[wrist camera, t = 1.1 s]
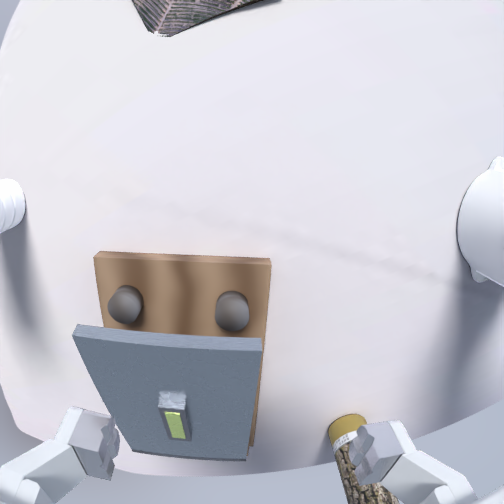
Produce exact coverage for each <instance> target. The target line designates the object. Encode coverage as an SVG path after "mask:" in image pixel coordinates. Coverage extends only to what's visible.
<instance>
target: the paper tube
mask: <svg viewBox="0 0 504 504" xmlns="http://www.w3.org/2000/svg"><path fill="white" fill-rule="evenodd" d="M366 424H367V422H366V420H365V418H364V417H362V416H360V415H357V414H350V415H346V416H343V417H341V418H339V419H337V420H336V421H334V422H333V423H332V424H331V426H330V428H329V430H328V434H329V437H330V441H331V444H332V448H333V452H334V455H335V459H336V462H337V465H338V469H339V472H340V476H341V480H342V483H343V486H344V490H345V494H346V497H347V501H348V504H399V502H398V499H397V497H396V496H394V495H393V494H392V493H391V492H390V491H389V490H387V489H386V488H385V487H384V486H383V485H382V484H380V482H378V483H373V484H368V485H362V486H359V483H358V481H357V478H356V475H355V470H356V466H355V465H354V464H352V463H351V461H350V458H349V445H350V443H351V441H352V439H353V438H355V437H356V436H358V435H357V433H356V431H357V429H358V428H359V427H360V426H361V425H366Z"/></svg>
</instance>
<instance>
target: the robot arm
mask: <svg viewBox="0 0 504 504" xmlns="http://www.w3.org/2000/svg"><path fill="white" fill-rule="evenodd" d="M458 242H459V246H460V249H461V252H462V254H463V256H464V258H465V259H466V260H467V262H468V263H469V265H470V267H471V273H472V277H473V280H474V281H476V282H478V283H481V282H484V281H488V280H492V281H494V282H496V283H497V284H499V285H501V286H503V287H504V158H503V157H500V156H497V157H496V158H495V159H494V160H493V162H492V163H491V165H490V167H489V169H488V170H487V171H486V172H484V173H483V174H481V175H480V176H479V177H477V178H476V179H475V180H474V182H473V183H472V184H471V186H470V187H469V189H468V190H467V192H466V194H465V197H464V199H463V202H462V205H461V208H460V212H459V218H458ZM115 424H116V422H115V419H114V416H110V415H105V414H101V413H97V412H93V411H89V410H86V409H82V408H78V407H74V406H71V407H70V408H69V409H68V410H67V412H66V414H65V416H64V419H63V421H62V423H61V425H60V427H59V429H58V431H57V433H56V435H55V438H54V440H52V439H49V440H47V441H45V442H44V443H42V444H40V445H38V446H37V447H35V448H33V449H32V450H30V451H28V452H26V453H24V454H22V455H21V456H19V457H17V458H15V459H13V460H12V461H10V462H8V463H6V464H4V465H2V466H1V468H0V504H55V503H56V502H58V501H59V500H60V499H61V498H62V497H64V496H65V495H66V494H67V493H68V492H70V491H71V490H72V489H73V488H74V487H75V486H77V485H78V484H79V483H80V482H81V481H83V480H84V479H85V478H86V477H87V475H89V476H93V477H97V478H101V479H106V480H111V477H112V473H113V470H114V466H115V465H114V463H113V460H112V459H113V458H115V457H116V456H117V455H118V451H119V444H120V438H119V432H118V430H117V429H115V428H114V427H115ZM356 433H357V435H358V436H356V437H355V438H353V439H352V441H351V443H350V445H349V458H350V461H351V463H352V464H354V465H355V466H356V470H355V475H356V478H357V481H358V483H359V486H362V485H368V484H373V483H378V482H380V484H382V485H383V486H384V487H385V488H386V489H387V490H389V491H390V492H391V493H392V494H393V495H394V496H396V497H397V498H398V499H399V500H400V501H402V502H403V503H404V504H504V485H502V486H501V487H499V488H498V489H496V490H494V491H492V492H491V493H489V494H487V495H485V496H483V497H482V498H480V499H478V498H477V497H476V495H475V493H474V491H473V490H472V488H471V486H470V484H469V483H468V481H467V479H466V477H465V476H464V475H462V474H461V473H459V472H457V471H455V470H453V469H452V468H450V467H448V466H446V465H445V464H443V463H441V462H440V461H438V460H436V459H435V458H433V457H431V456H429V455H428V454H426V453H424V452H423V451H421V450H418V451H417V449H416V448H415V446H414V444H413V442H412V440H411V438H410V437H409V435H408V433H407V431H406V429H405V428H404V426H403V424H402V422H401V421H400V420H393V421H387V422H379V423H373V424H366V425H361V426H360V427H359V428H358V429H357V431H356Z"/></svg>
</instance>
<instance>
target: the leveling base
mask: <svg viewBox="0 0 504 504" xmlns="http://www.w3.org/2000/svg"><path fill="white" fill-rule="evenodd" d="M93 258H94V266H95V274H96V282H97V289H98V295H99V301H100V307H101V313H102V319H103V324H104V328H112V329H122V330H131V331H142V332H153V333H165V334H179V335H195V336H215V337H243V338H261V342H262V356H261V363H260V370H259V377H258V384H257V391H256V397H255V404H254V411H253V417H252V424H251V430H250V436H249V443H248V449H247V455H246V456H248V451H249V446H253V443H254V435H255V426H256V417H257V408H258V399H259V390H260V380H261V371H262V361H263V351H264V341H265V331H266V320H267V310H268V299H269V288H270V277H271V261H270V258H250V257H224V256H200V255H176V254H153V253H130V252H107V251H100V252H98V253H97V254H96V255H95V256H94V257H93Z"/></svg>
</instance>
